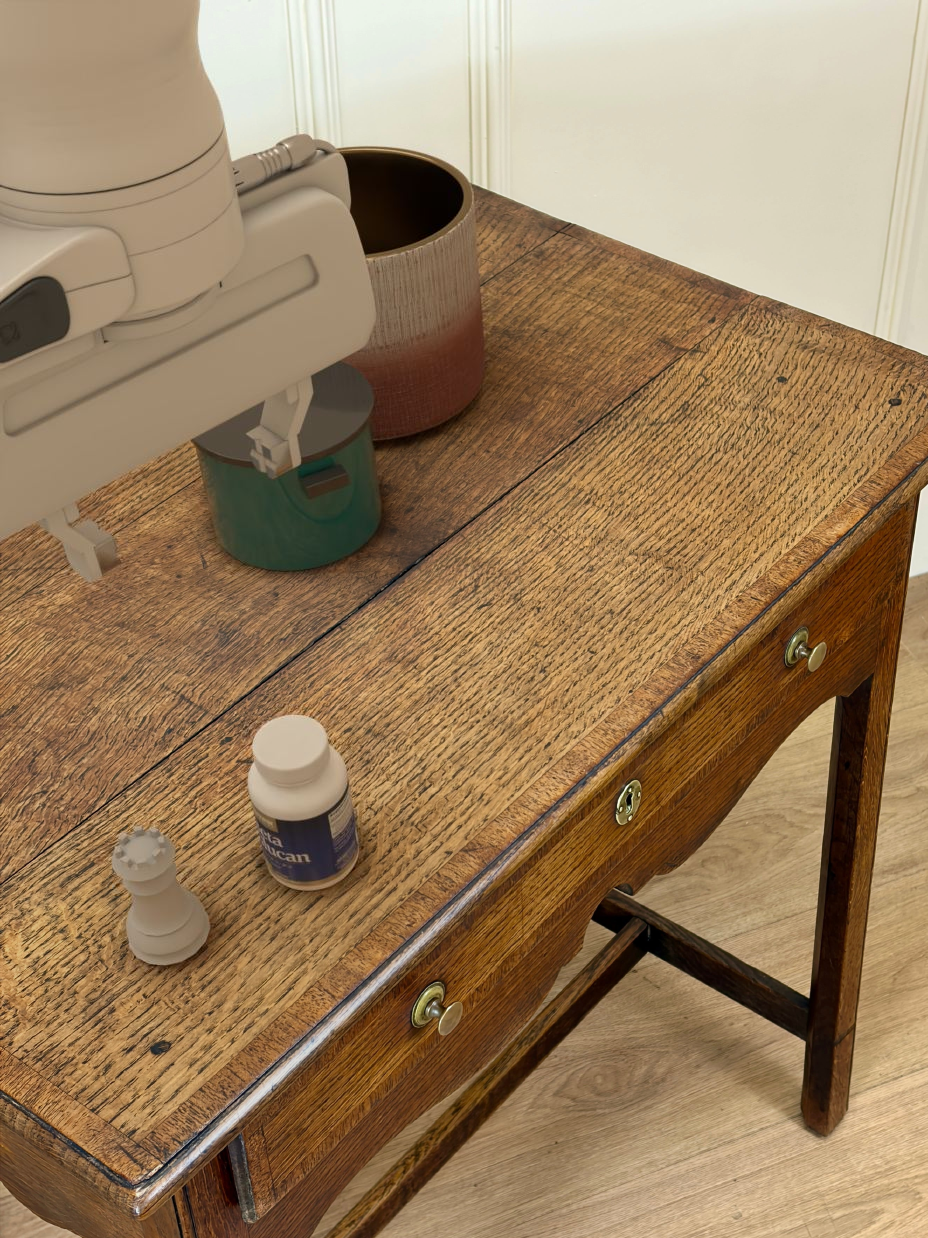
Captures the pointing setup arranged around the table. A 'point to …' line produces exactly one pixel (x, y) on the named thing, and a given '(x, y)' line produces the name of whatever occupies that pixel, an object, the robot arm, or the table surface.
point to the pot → (298, 481)
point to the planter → (417, 287)
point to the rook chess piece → (158, 900)
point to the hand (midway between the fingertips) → (190, 516)
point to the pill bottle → (302, 804)
